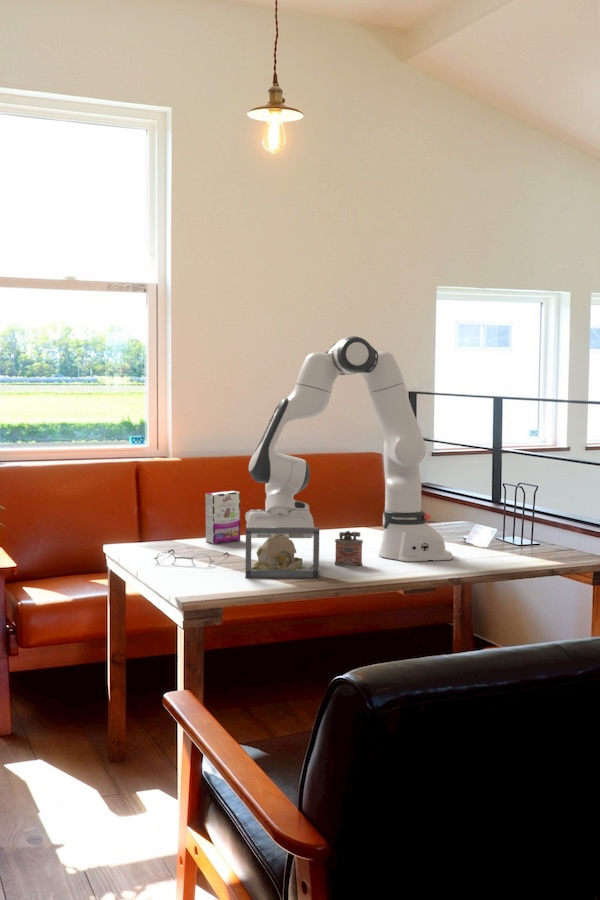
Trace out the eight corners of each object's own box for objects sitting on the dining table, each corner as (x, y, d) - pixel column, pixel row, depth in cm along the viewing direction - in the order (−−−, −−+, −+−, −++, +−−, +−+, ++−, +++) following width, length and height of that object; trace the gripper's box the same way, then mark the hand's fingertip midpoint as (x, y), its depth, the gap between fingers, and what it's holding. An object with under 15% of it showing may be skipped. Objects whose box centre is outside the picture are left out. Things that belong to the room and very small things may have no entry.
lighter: (334, 565, 271) (334, 531, 270) (335, 563, 274) (335, 529, 273) (361, 566, 270) (362, 532, 269) (362, 564, 273) (363, 530, 272)
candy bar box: (231, 538, 313) (232, 490, 312) (240, 540, 310) (241, 491, 308) (204, 542, 306) (204, 492, 305) (213, 544, 302) (213, 494, 301)
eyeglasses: (153, 565, 270) (153, 551, 270) (173, 555, 288) (173, 542, 288) (213, 568, 267) (213, 555, 266) (229, 558, 285) (230, 545, 285)
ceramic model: (267, 574, 257) (267, 539, 256) (245, 567, 266) (245, 533, 265) (308, 569, 265) (308, 534, 264) (285, 562, 274) (286, 529, 273)
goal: (316, 569, 265) (316, 522, 264) (318, 578, 254) (319, 528, 253) (245, 569, 264) (246, 521, 262) (245, 577, 253) (245, 527, 252)
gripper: (245, 503, 276) (244, 541, 268) (313, 504, 277) (315, 542, 269) (245, 516, 281) (244, 554, 272) (312, 516, 282) (314, 554, 273)
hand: (280, 548), depth 270 cm, fingers closed
